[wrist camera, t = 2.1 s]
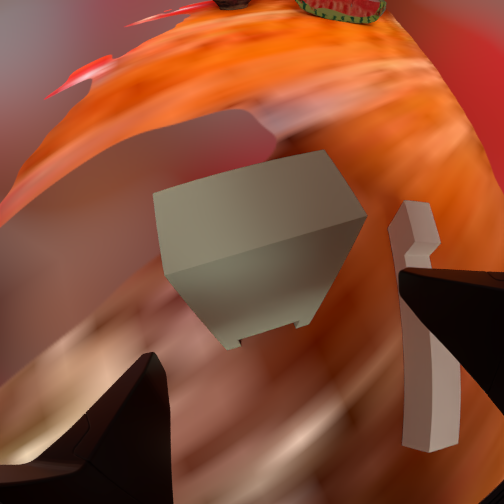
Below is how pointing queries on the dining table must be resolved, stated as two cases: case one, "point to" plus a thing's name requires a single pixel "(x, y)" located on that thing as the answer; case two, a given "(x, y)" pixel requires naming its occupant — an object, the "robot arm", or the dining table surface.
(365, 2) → the fruit slice
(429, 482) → the dining table surface
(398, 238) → the white rectangular bar
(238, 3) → the ceramic jug
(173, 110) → the dining table surface
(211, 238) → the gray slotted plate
